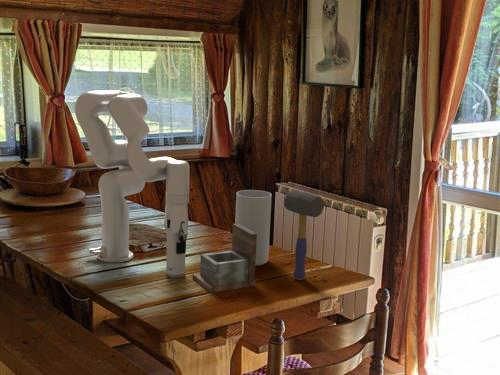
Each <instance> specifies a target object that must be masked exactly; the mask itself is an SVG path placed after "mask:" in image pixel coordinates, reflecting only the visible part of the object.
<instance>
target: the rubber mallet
mask: <svg viewBox="0 0 500 375" xmlns="http://www.w3.org/2000/svg"><path fill="white" fill-rule="evenodd" d="M283 202H284V203H283V204H284V208H285V209H286V210H288V211H290V212H292V213H295V214H299V215H298V228H297V229H298V230H297V237H296V242H295V253H294V254H295V266H294V270H293V276H294V279H295V280H297V281H302V280H304V279H305V277H306V257H307V251H308V249H307V247H308V246H307V244H308V243H307V235H306V234H307V218H308V217H312V218H317V217H319V216H320V215H321V214H322V213H323V211H324V207H325V202H324V199H323V198H322V197H321V196H319V195H316V194H313V193H309V192H306V191H300V190H290V191H288V192H287V193H286V194H285V196H284V201H283Z"/></svg>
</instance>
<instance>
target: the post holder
mask: <svg viewBox="0 0 500 375" xmlns="http://www.w3.org/2000/svg"><path fill="white" fill-rule="evenodd" d="M231 236H232V238H231V250H225V251H219V252H218V251H217V252H211V253H203V254H202V253H201V254H200V263H199V264H200V267H199V268H200V270H199V271H200V272H198V273H192V280H194V281H195V282H197V283H198V284H199V285H200V286H201V287H203V288H204V289H205V288H206V289H205V290H206V291H208V292H210V294H211V293H217V292H224V291H230V290H237V289H242V288H243V287H244V288H249V287H250V286H251V287H256V266H255V263H256V242H257V233H255V232H253V231H251V230H249V229H247V228H246V227H244V226H242V225H240V224H235V223H232V235H231ZM244 288H243V289H244Z"/></svg>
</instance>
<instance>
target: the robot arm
mask: <svg viewBox="0 0 500 375" xmlns="http://www.w3.org/2000/svg"><path fill="white" fill-rule="evenodd" d="M148 107H149V106H148V102H147V101H146V99H145V98H144V97H143V96H142V95H141V94H139V93H132V92H127V91H121V90H117V89H115V90H114V89H110V90H107V89H106V90H90V91H89V90H88V91H85V92H83V93H81V94H80V95H79V96H78V97H77V98H76V101H75V104H74V113H75V117H76V121H77V123H78V124H79V127H80V129H81V131H82V133H83V134H84V137H85V139H86V143H87V145H88V146H87V147H88V148H89V151H90V153H91V157H92V160H93V163H94V164H95V165H96V167H98V169H99V168H100V169H103V170H104V169H105V170H106V169H114V168H118V169H116V170H110V171H108V172H105V173H103V174H101V176H100V177H99V180H98V191H99V195H100V203H101V244H98V245H99V246H97V247H95V248H93V247H92V248H88V249H87V252H88V255H92V254H93V256H97V259H98V260H99V261H102V262H105V263H124V262H128V261H131V260H132V259H133V258H134V253H133V252H132V251H131V250H130V208H129V204H128V202H127V200H126V198H125V197H127V196H131V195H135V194H138V193H141V192H142V191H143V189H144V188H145V185H146V183H153V182H158V181H164V180H165V207H164V220H163V222H164V224H163V225H164V226H163V227H164V229H165V230H166V231H167V225H168V224H167V219H168V220H171V221H170V232H171V233H172V234H174V235H176V236H177V241H178V242H176V254H184V253H185V254H186V253H187V239H188V236H189V231H188V230H189V210H188V204H189V202H190V168H191V167H190V164H189V162H188V161H186V160H183V159H181V160H179V159H174V158H172V157H169V156H160V157H151V158H148V157H147V155H146V153H145V152H144V150H143V148H142V142H143V140H144V139H145V138H147V137H148V135H149V133H150V127H149V126H148V123H147V122H146V121H145V119H144V117H145V116H146V115H147V114H148V109H149V108H148ZM105 115H110V116H111V118H112V120H113V121H114V122H115V124H116V125H117V127H118V129H119V130H120V131H121V133H122V135H123V136H124V138H125V139H126V140H125V139H116V140H115V139H113V137H112V135H111V132H110V129H109V127H108V126H107V124H106V123H105V121H103V120H102V119H101V118H100V117H99V116H105ZM179 231H182V233H179ZM179 235H182V236H181V237H180V236H179Z"/></svg>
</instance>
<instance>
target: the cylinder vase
mask: <svg viewBox="0 0 500 375" xmlns="http://www.w3.org/2000/svg"><path fill="white" fill-rule="evenodd" d="M235 193H236V197H235V198H236V200H235V219H234V220H235V222H234V224H240V225H242V226H244V227H246V228H247V229H249V230H251V231H253V232H255V233H257V242H256V263H255V267H256V266H262V265H265V264H266V263H268V261H269V257H270V256H269V254H270V252H269V251H270V235H271V234H270V232H271V231H270V230H271V213H272V198H273V197H272V193H271V192H269V191H265V190H256V189H244V190H239V191H237V192H235Z"/></svg>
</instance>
